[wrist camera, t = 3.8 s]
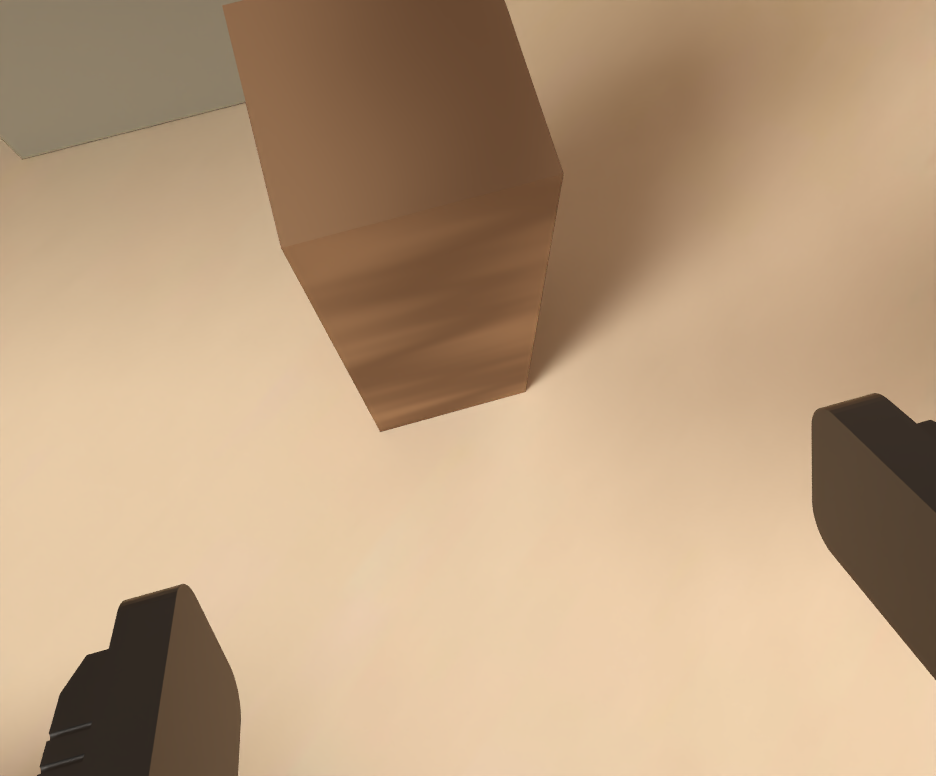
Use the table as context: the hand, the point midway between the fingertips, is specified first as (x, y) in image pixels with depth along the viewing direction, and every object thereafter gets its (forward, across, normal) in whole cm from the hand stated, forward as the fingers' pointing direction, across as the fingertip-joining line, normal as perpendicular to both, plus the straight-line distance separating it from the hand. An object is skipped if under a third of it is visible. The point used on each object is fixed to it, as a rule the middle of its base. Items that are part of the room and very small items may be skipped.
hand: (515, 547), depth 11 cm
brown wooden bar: (+13, 0, +4) cm, 14 cm away
